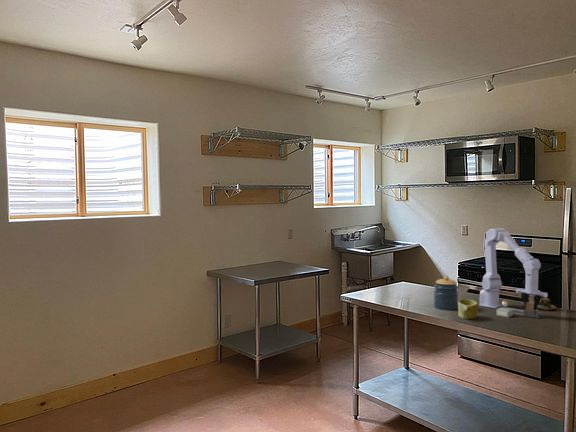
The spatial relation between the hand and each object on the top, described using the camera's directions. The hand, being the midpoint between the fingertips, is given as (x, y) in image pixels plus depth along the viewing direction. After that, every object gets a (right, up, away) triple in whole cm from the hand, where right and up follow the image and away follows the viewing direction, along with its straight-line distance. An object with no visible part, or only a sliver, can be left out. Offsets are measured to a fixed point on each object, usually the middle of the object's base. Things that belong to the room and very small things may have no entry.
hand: (531, 308), depth 234 cm
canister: (-37, -3, +19) cm, 42 cm away
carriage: (0, -4, 0) cm, 4 cm away
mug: (-34, -4, -2) cm, 34 cm away
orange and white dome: (-13, +1, +2) cm, 13 cm away
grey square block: (-13, -4, +2) cm, 13 cm away
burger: (+16, -4, +16) cm, 22 cm away
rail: (-3, -4, +4) cm, 6 cm away
